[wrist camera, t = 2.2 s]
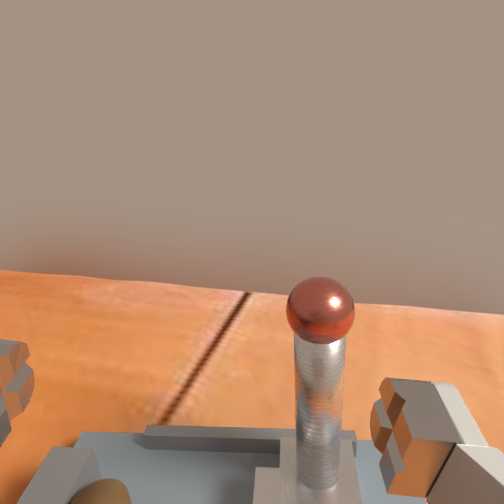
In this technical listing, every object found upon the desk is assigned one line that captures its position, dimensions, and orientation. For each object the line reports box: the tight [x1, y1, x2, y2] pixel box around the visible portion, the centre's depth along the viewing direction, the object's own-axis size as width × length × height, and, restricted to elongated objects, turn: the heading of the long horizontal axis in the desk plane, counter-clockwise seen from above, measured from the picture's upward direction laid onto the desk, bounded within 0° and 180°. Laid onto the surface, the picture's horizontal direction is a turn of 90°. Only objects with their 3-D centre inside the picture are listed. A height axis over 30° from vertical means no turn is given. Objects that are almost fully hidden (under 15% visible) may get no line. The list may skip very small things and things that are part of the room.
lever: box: [253, 277, 362, 504], centre depth 22 cm, size 9×6×16 cm
